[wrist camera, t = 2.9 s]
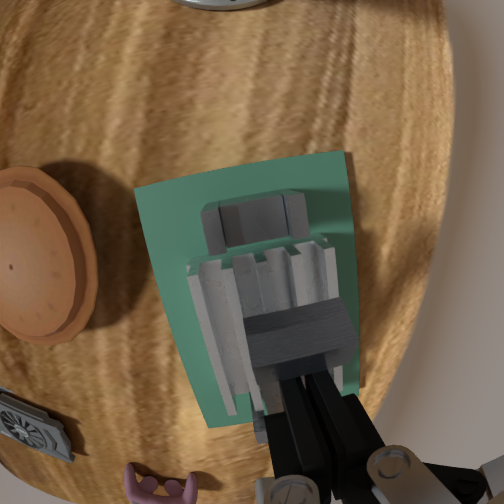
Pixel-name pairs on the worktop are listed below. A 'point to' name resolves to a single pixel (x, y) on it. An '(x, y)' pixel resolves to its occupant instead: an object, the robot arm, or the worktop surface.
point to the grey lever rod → (298, 344)
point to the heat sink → (255, 282)
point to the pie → (44, 259)
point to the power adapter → (262, 488)
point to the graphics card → (33, 428)
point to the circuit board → (194, 244)
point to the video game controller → (142, 493)
